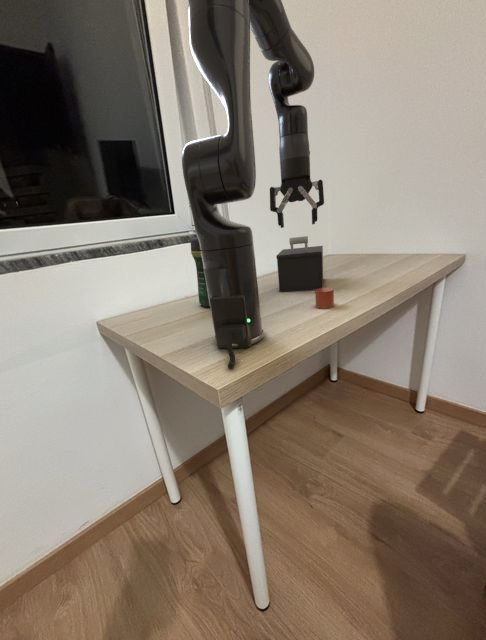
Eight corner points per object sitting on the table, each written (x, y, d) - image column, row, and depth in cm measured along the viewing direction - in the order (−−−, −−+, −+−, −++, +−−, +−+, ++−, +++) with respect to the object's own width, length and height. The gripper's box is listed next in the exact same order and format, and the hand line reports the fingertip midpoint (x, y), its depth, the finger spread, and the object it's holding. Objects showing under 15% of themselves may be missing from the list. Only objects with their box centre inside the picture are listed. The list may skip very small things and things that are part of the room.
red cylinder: (334, 308, 71) (333, 291, 69) (315, 309, 72) (314, 292, 70) (333, 303, 75) (333, 287, 73) (316, 304, 76) (315, 288, 74)
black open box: (322, 289, 89) (322, 254, 85) (279, 291, 92) (276, 258, 88) (323, 279, 101) (322, 248, 97) (284, 282, 104) (282, 252, 100)
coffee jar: (209, 309, 83) (197, 236, 75) (196, 305, 89) (183, 237, 82) (238, 301, 88) (230, 232, 80) (224, 297, 94) (215, 233, 86)
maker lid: (321, 254, 84) (321, 235, 82) (276, 258, 87) (275, 240, 85) (322, 248, 97) (322, 231, 95) (282, 252, 100) (281, 235, 98)
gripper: (264, 160, 77) (270, 229, 83) (323, 150, 73) (324, 223, 79) (269, 164, 83) (274, 228, 90) (323, 155, 80) (324, 222, 86)
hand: (297, 225), depth 85 cm, fingers open, 8 cm apart
